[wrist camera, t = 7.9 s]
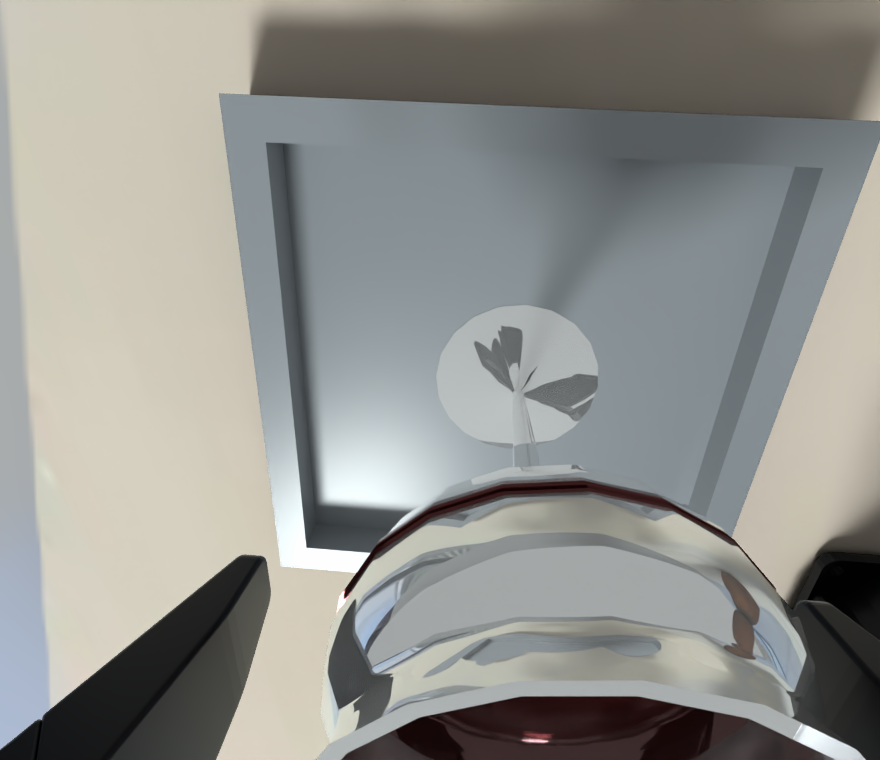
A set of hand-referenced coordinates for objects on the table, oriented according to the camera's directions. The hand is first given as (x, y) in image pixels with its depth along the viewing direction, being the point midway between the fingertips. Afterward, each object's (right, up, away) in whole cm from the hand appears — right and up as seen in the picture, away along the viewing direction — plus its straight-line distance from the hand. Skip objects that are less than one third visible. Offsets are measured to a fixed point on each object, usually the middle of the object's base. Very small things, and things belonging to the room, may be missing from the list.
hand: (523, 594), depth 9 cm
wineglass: (+1, +4, +8) cm, 9 cm away
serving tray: (+1, +4, +8) cm, 9 cm away
